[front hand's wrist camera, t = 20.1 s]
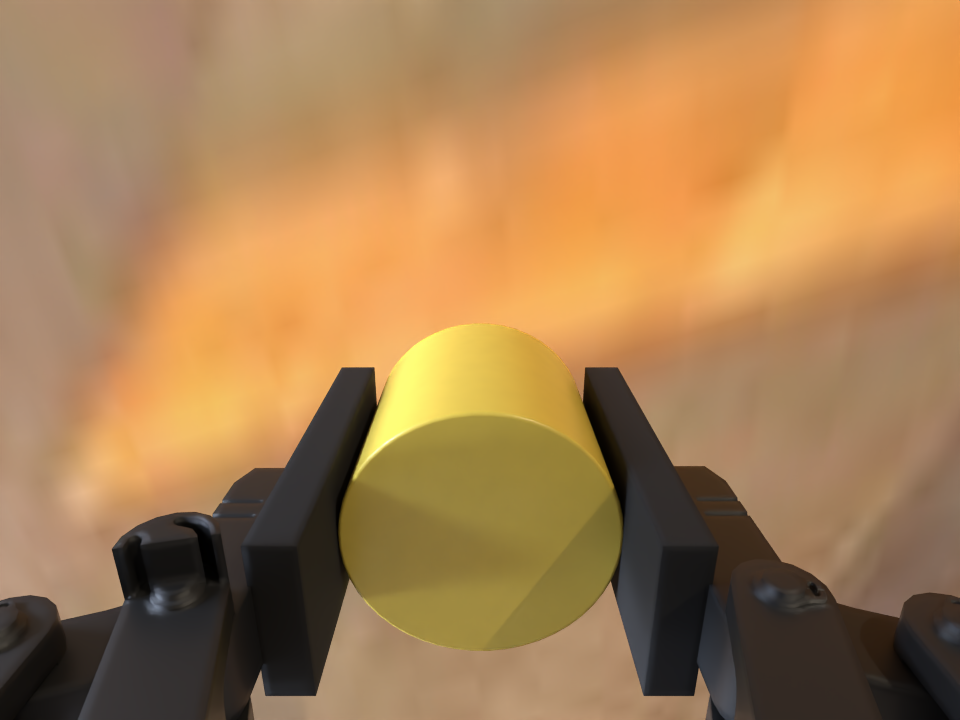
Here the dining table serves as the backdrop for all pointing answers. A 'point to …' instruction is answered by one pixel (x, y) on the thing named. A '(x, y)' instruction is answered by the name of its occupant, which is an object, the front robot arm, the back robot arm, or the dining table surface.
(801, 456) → the dining table surface
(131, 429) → the dining table surface
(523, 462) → the cylinder
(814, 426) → the dining table surface
